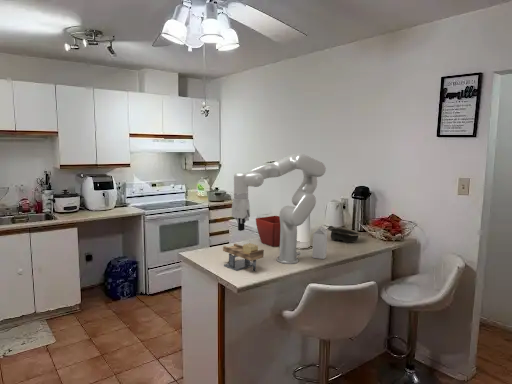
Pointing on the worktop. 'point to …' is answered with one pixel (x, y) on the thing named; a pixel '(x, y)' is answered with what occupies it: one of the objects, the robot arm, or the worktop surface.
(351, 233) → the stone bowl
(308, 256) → the worktop surface
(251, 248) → the block
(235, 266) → the pivot stand
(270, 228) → the plant pot
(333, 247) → the worktop surface
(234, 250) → the board
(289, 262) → the robot arm
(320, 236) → the milk carton
